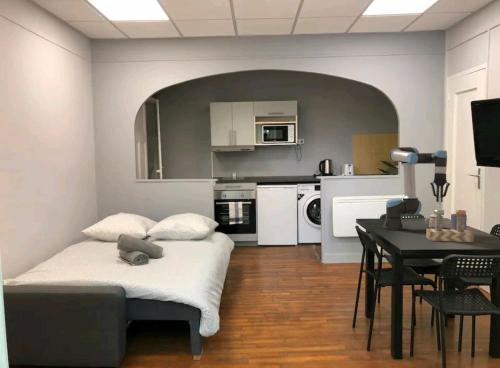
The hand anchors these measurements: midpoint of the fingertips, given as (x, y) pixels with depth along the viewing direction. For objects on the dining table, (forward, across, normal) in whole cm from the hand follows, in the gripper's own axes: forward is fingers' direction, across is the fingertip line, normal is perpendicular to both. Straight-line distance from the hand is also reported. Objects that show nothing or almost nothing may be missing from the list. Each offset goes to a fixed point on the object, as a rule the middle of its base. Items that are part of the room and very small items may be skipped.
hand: (439, 206), depth 300 cm
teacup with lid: (+23, +6, +50) cm, 55 cm away
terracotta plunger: (+16, +14, 0) cm, 22 cm away
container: (+23, +17, +18) cm, 34 cm away
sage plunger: (+17, 0, 0) cm, 17 cm away
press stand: (+23, +7, 0) cm, 24 cm away
